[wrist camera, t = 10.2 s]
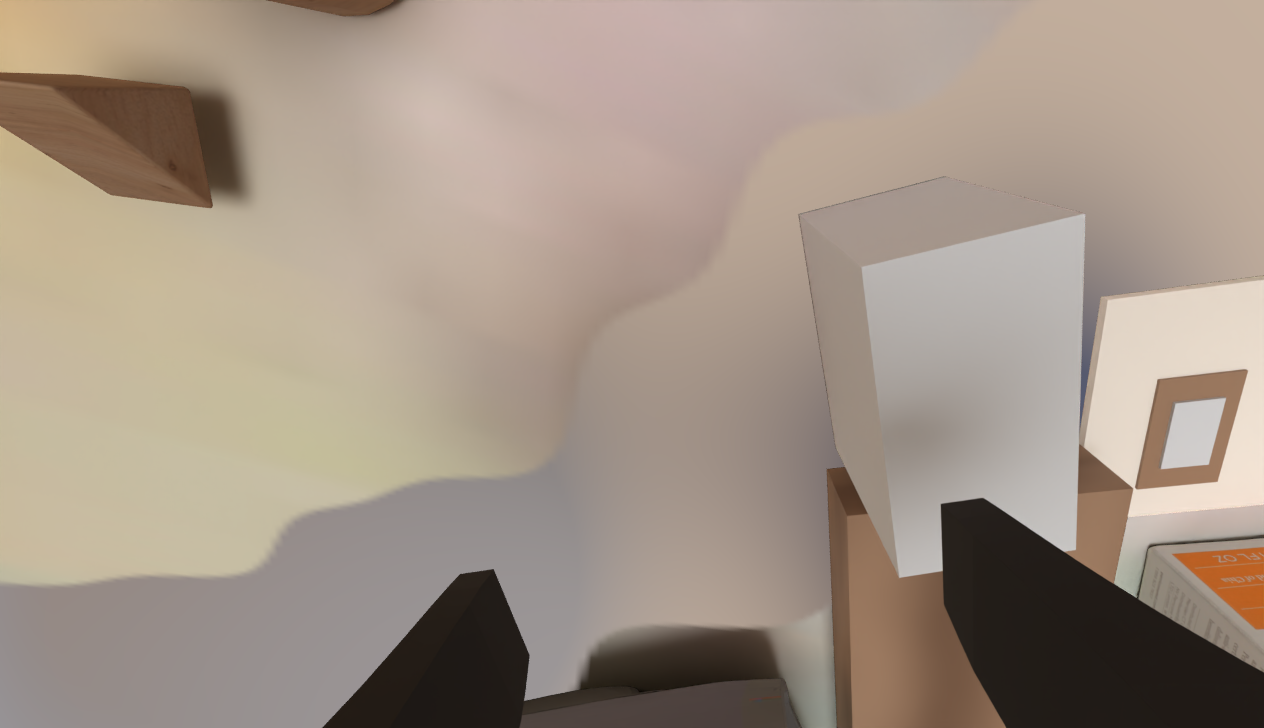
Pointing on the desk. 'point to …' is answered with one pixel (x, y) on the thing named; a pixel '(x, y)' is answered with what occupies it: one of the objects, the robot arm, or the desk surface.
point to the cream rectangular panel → (1180, 395)
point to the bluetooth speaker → (667, 707)
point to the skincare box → (1211, 592)
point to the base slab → (929, 613)
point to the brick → (951, 356)
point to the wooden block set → (125, 125)
